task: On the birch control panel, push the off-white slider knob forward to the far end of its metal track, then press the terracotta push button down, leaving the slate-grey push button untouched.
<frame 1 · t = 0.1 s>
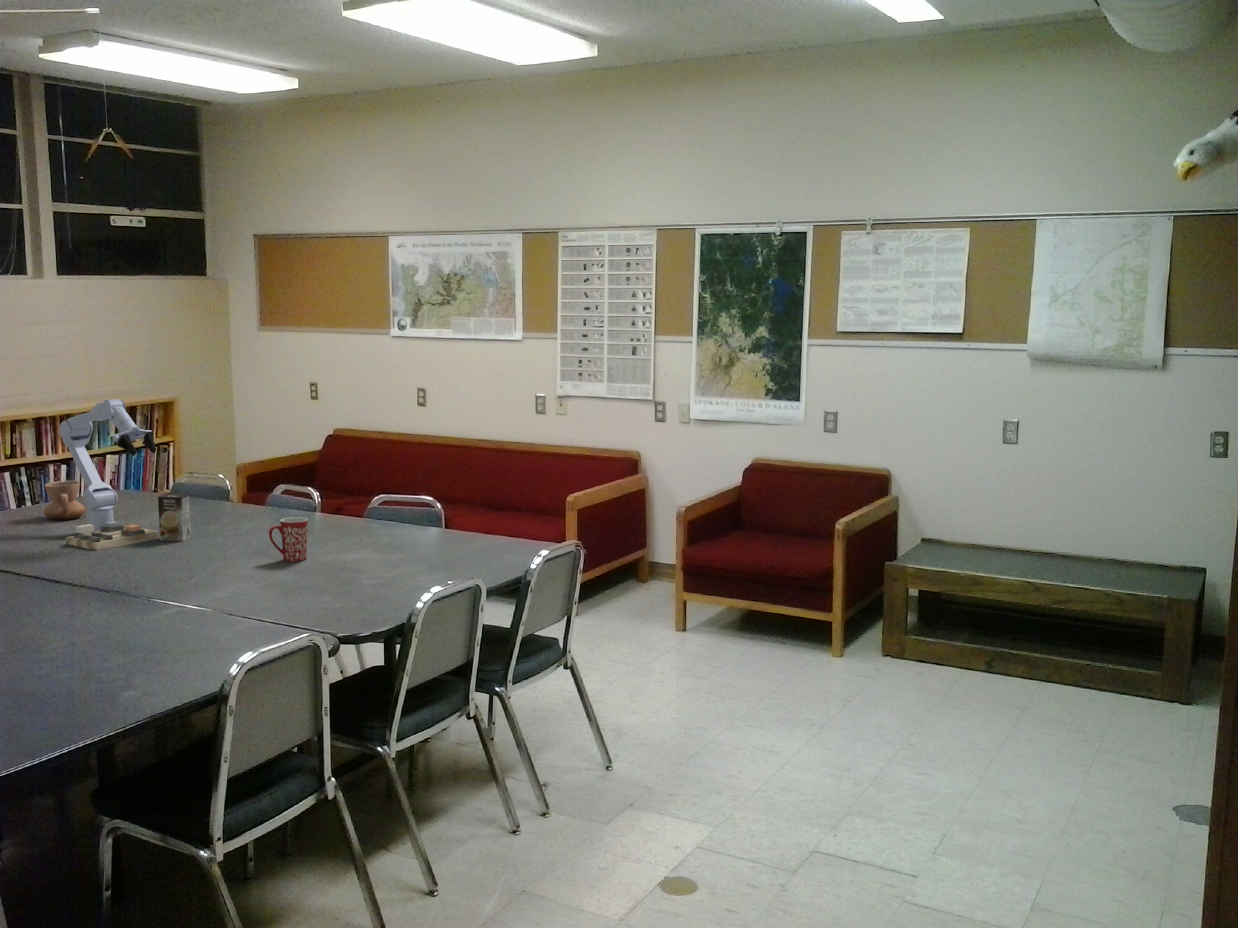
hand: (145, 452, 382), 32 cm above the table, tool tilted 50°, fingers open, 7 cm apart
ceramic jug: (65, 519, 427), on the table
mug: (289, 560, 361), on the table
terracotta button: (133, 540, 388), resting on control panel, slide at 0.0 cm
control panel: (112, 541, 387), on the table
slider knob: (86, 544, 382), resting on control panel, slide at 0.0 cm
coffee box: (175, 539, 391), on the table
grey button: (112, 537, 394), resting on control panel, slide at 0.0 cm
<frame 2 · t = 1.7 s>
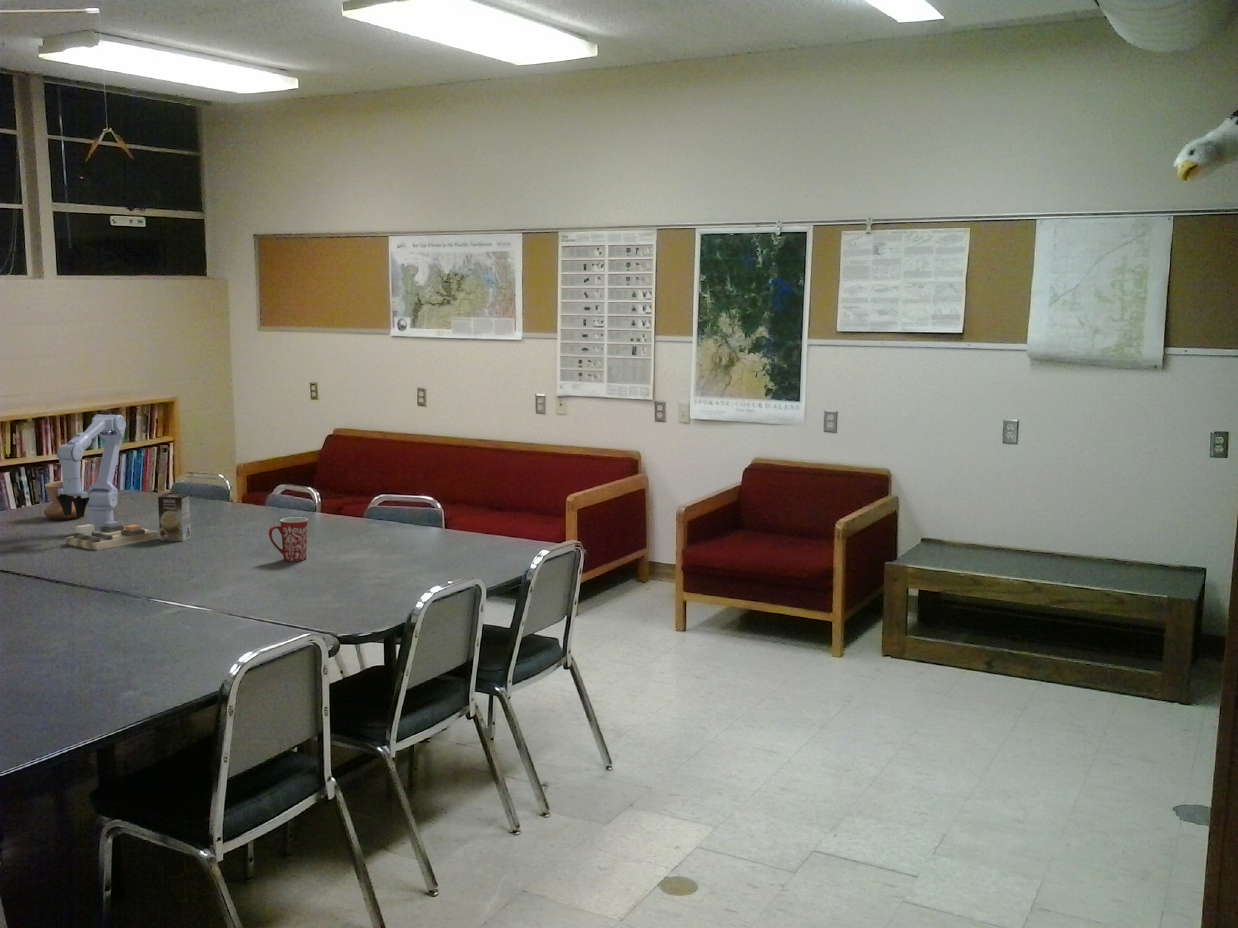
hand: (74, 516, 384), 9 cm above the table, tool pointing down, fingers open, 7 cm apart
nothing on the table moved.
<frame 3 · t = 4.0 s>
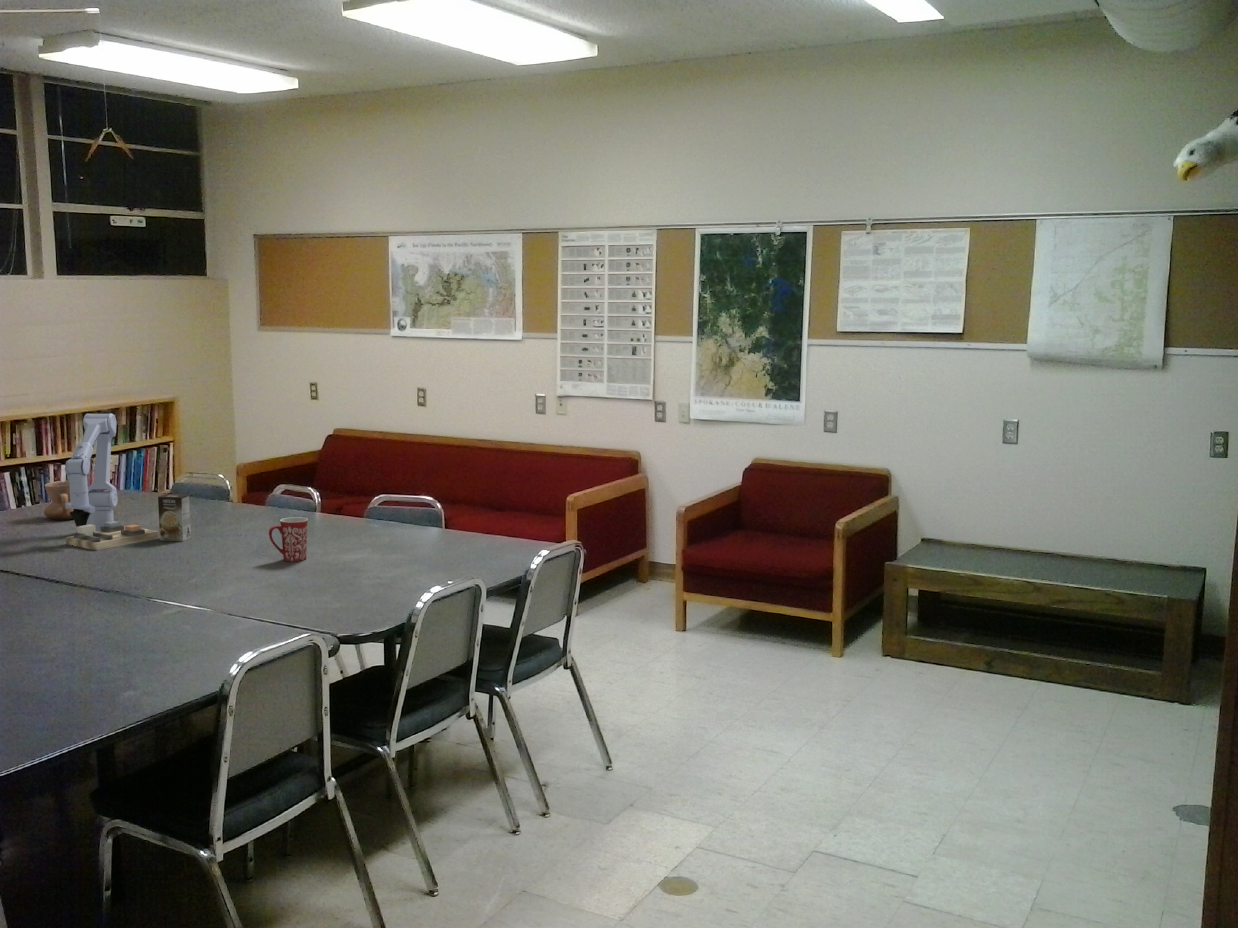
hand: (81, 530, 383), 5 cm above the table, tool pointing down, fingers closed
slider knob: (87, 544, 382), resting on control panel, slide at 0.7 cm, touching gripper
everything else where it was.
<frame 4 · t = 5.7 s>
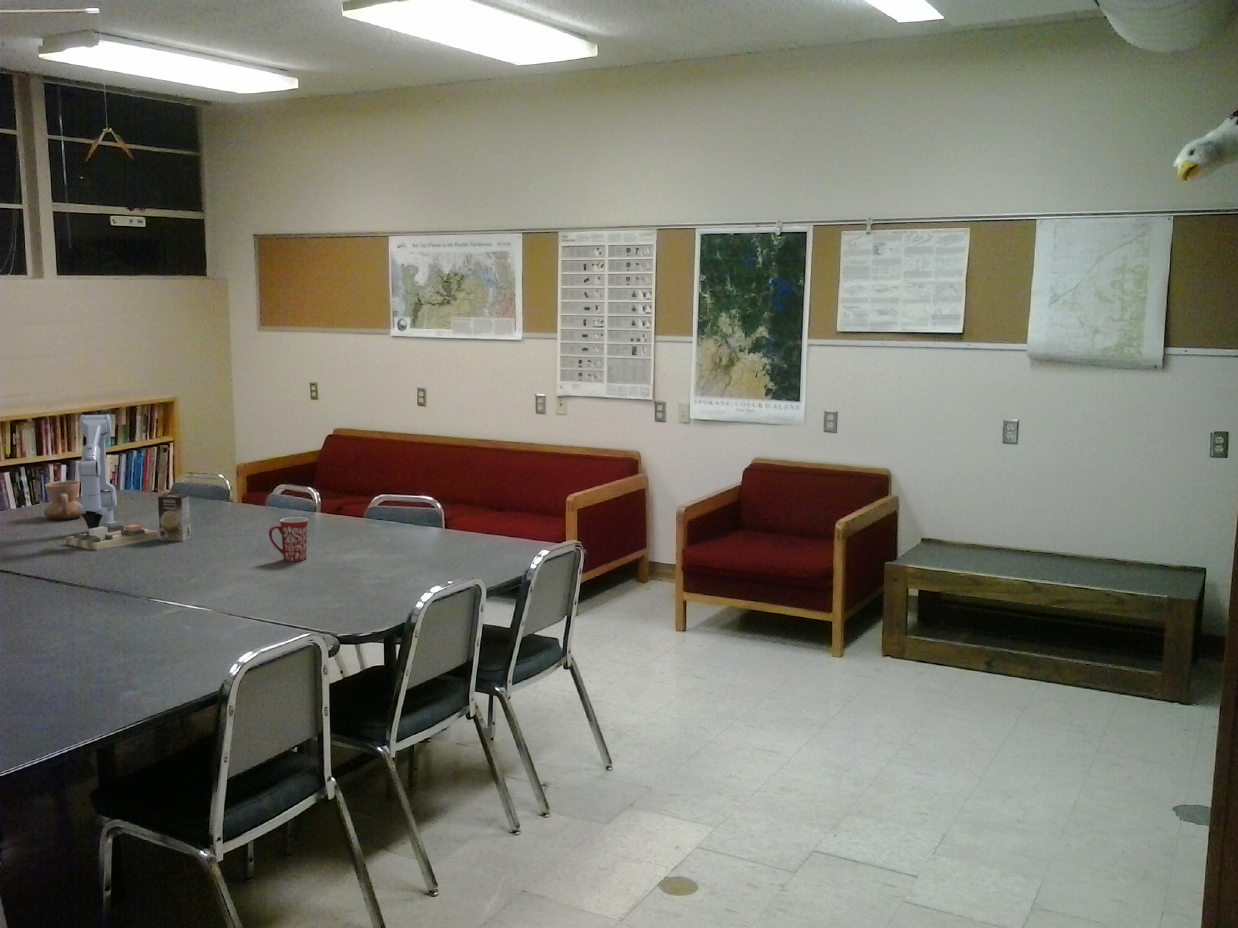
hand: (93, 532, 379), 5 cm above the table, tool pointing down, fingers closed
slider knob: (99, 546, 379), resting on control panel, slide at 7.7 cm, touching gripper
everything else where it was.
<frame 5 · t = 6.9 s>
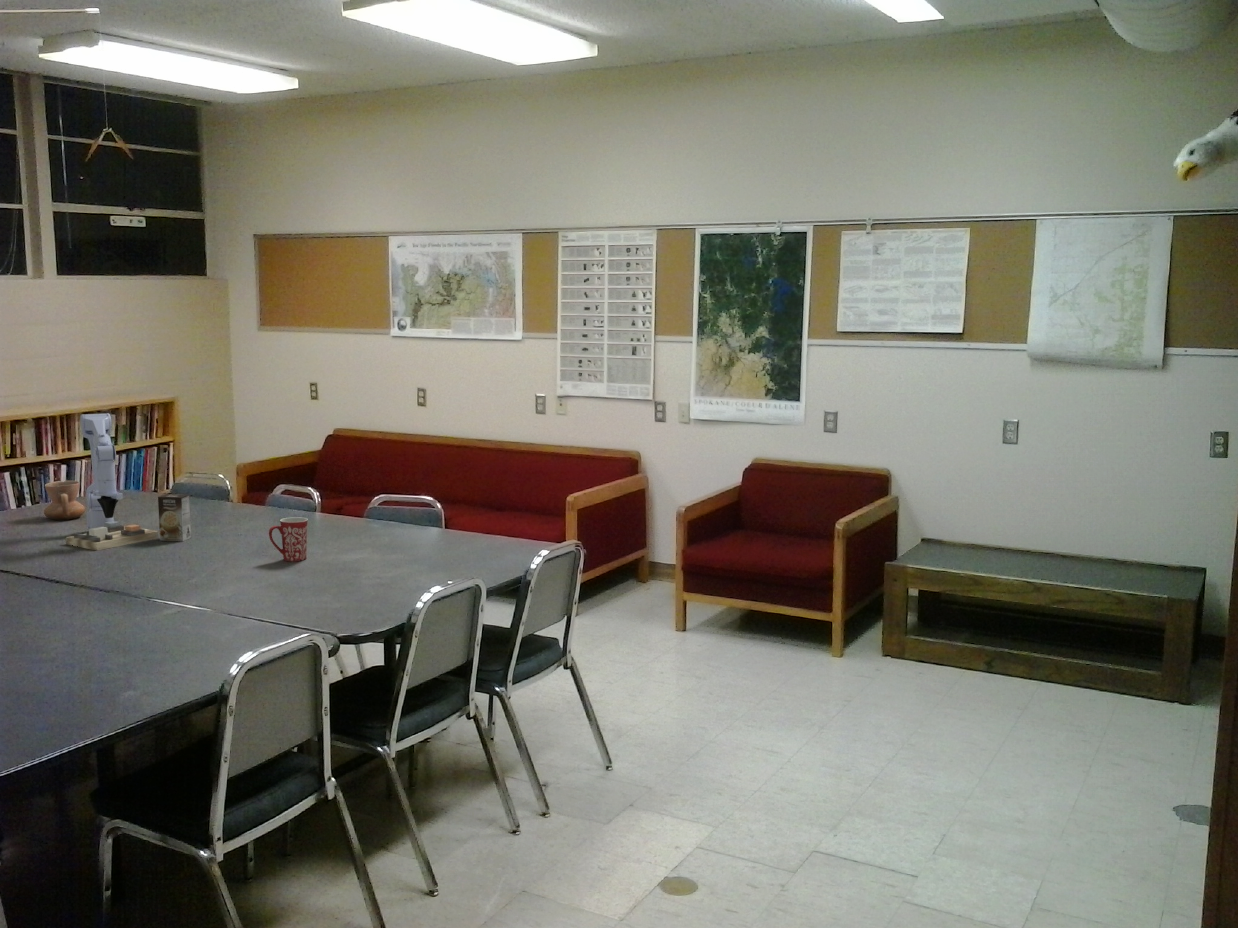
hand: (109, 517, 382), 9 cm above the table, tool pointing down, fingers closed
slider knob: (99, 546, 379), resting on control panel, slide at 7.7 cm
everything else where it was.
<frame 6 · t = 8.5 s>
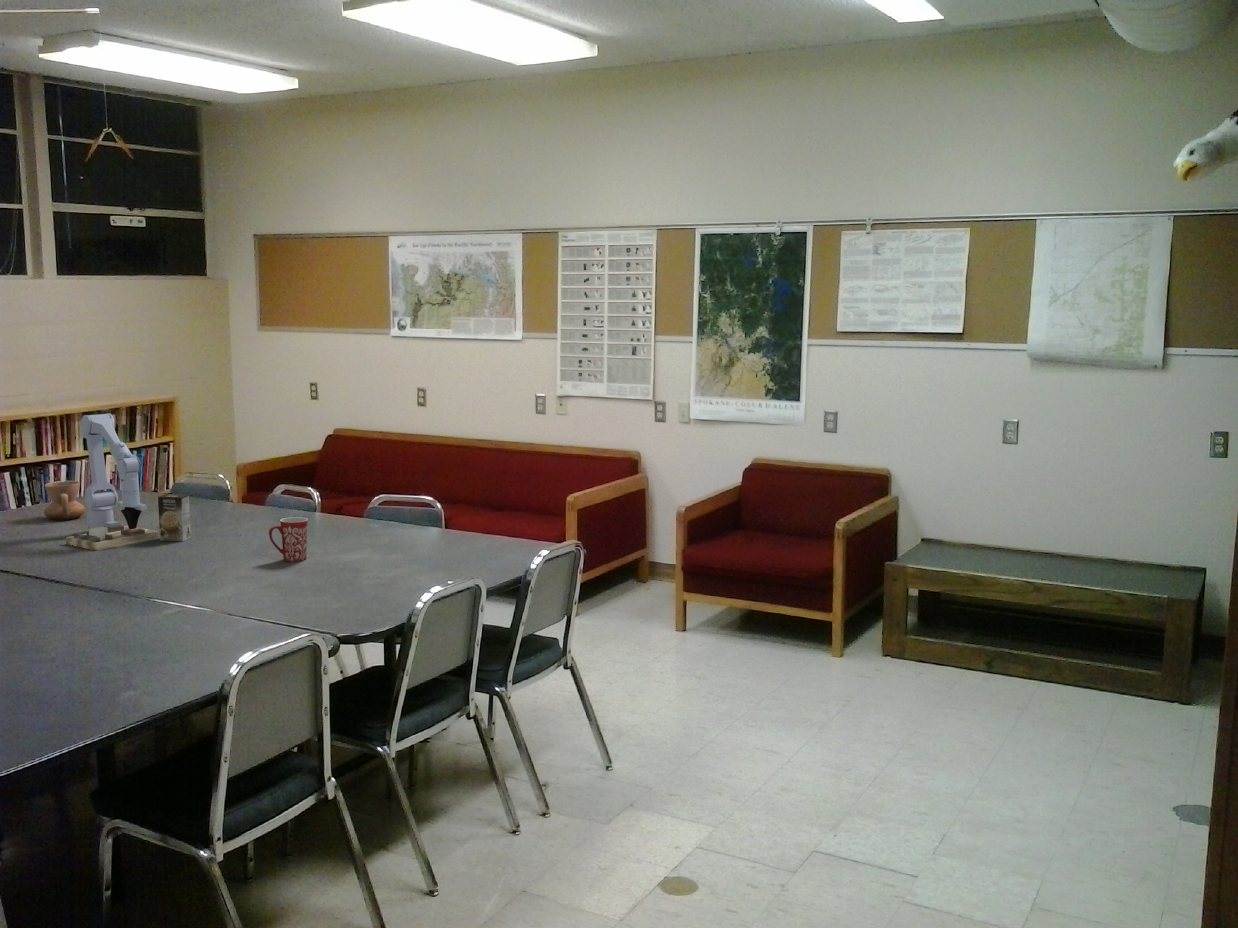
hand: (132, 528, 387), 5 cm above the table, tool pointing down, fingers closed, pressing on terracotta button
terracotta button: (133, 543, 388), resting on control panel, slide at 0.9 cm, touching gripper
everything else where it was.
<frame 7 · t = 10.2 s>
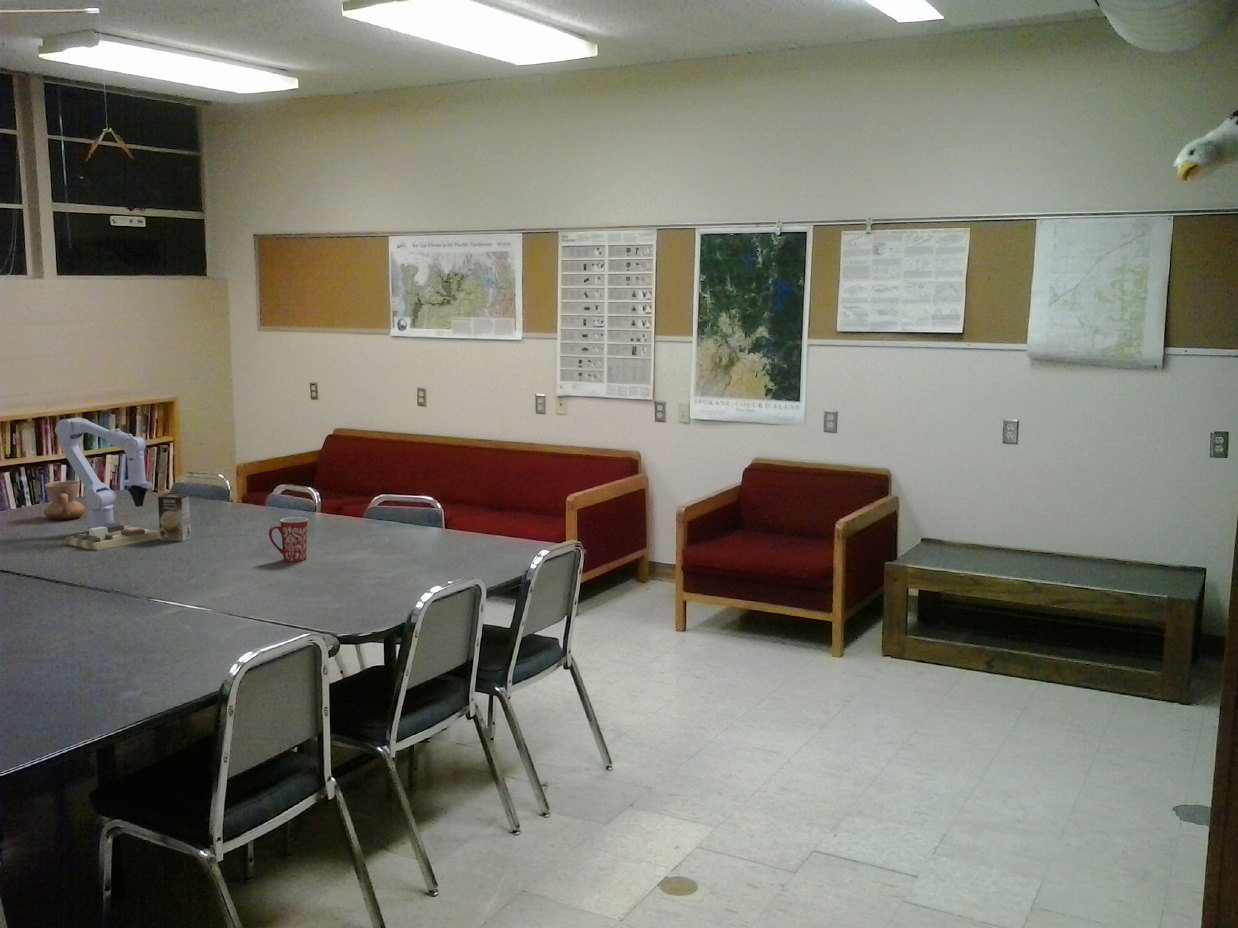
hand: (139, 506, 398), 10 cm above the table, tool pointing down, fingers closed
terracotta button: (133, 543, 388), resting on control panel, slide at 1.0 cm
everything else where it was.
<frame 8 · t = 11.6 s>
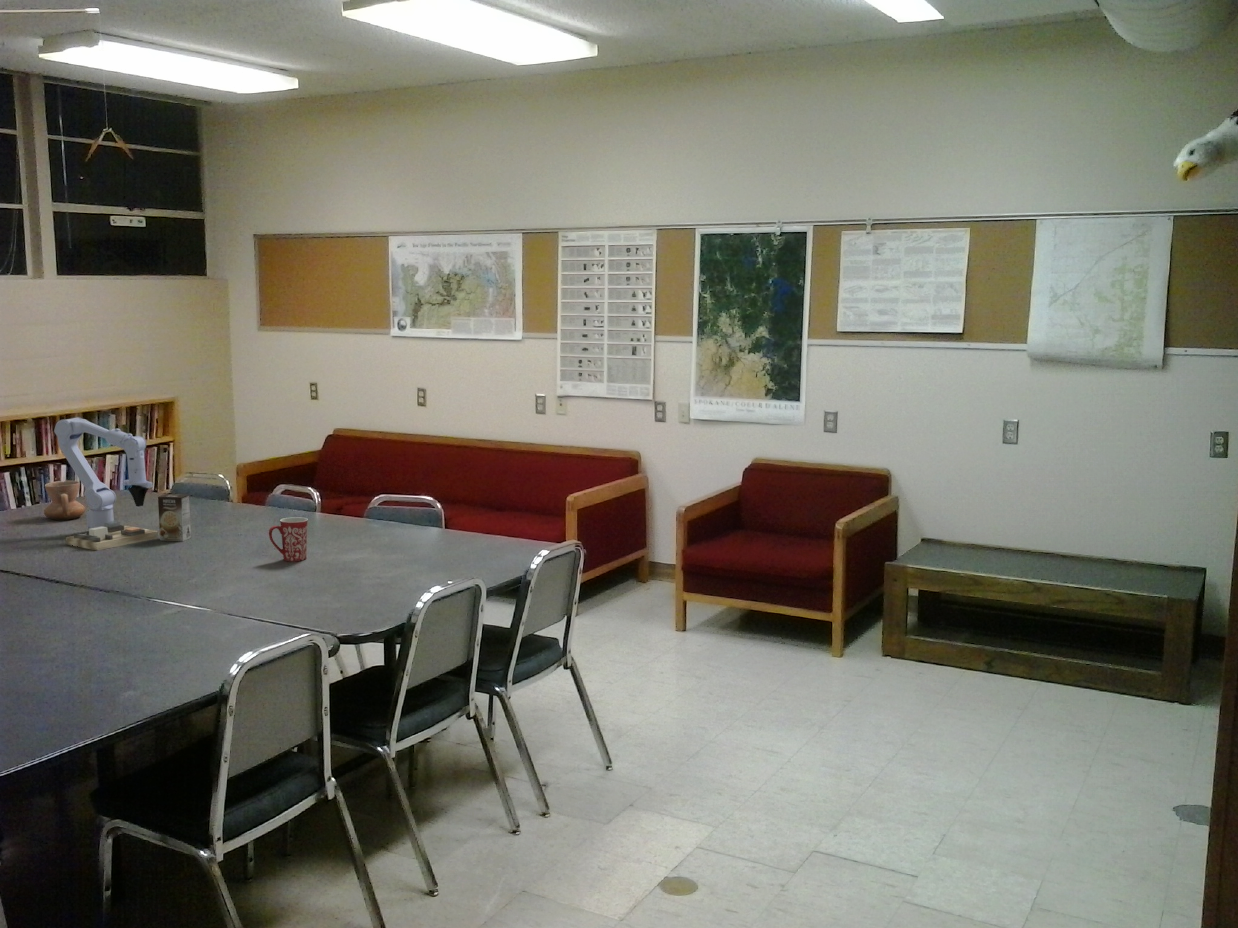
hand: (139, 505, 398), 10 cm above the table, tool pointing down, fingers closed
nothing on the table moved.
at the end: slider knob slide at 7.7 cm; terracotta button slide at 1.0 cm; grey button slide at 0.0 cm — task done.
